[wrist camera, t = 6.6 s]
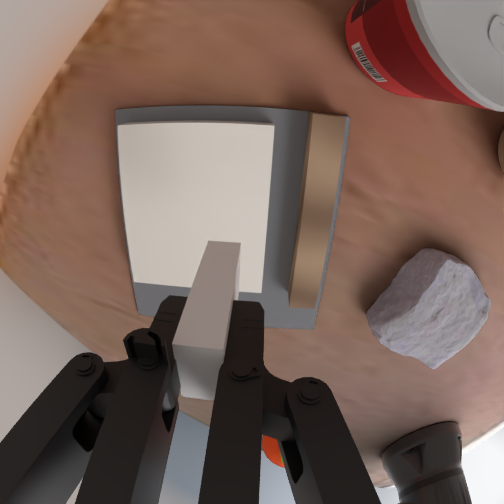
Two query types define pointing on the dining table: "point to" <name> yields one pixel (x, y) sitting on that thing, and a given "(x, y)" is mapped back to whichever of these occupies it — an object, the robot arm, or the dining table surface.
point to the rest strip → (315, 206)
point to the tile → (194, 196)
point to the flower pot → (501, 151)
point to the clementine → (272, 450)
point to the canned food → (432, 48)
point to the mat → (279, 211)
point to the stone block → (430, 308)
